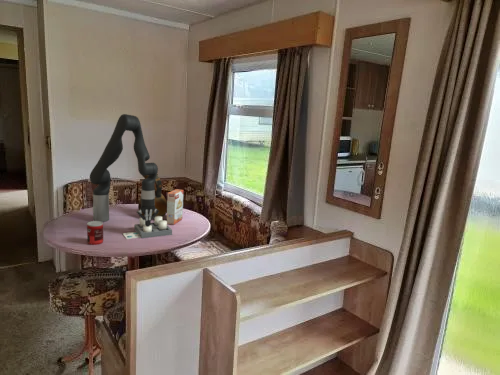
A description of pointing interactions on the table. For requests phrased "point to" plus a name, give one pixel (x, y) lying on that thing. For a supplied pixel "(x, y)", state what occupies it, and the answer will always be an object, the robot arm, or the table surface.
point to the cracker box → (174, 206)
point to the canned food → (95, 232)
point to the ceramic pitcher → (157, 198)
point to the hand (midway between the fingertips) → (147, 226)
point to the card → (131, 235)
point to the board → (154, 232)
